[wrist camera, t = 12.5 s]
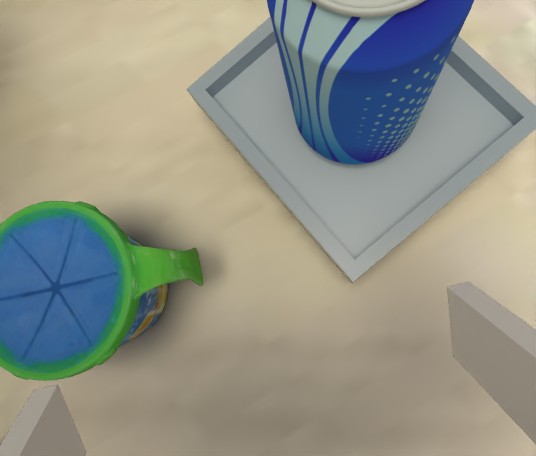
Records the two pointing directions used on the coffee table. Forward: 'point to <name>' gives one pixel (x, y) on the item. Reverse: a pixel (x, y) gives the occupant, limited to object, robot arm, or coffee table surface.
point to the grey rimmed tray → (371, 174)
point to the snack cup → (77, 288)
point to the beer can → (362, 69)
